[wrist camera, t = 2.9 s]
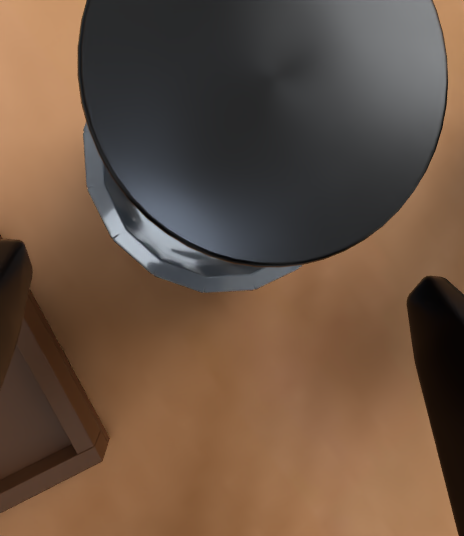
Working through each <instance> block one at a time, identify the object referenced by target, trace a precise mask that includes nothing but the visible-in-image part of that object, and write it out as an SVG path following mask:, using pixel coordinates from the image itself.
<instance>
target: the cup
mask: <svg viewBox="0 0 464 536" xmlns="http://www.w3.org/2000/svg"><path fill="white" fill-rule="evenodd" d="M83 131H84V133H83V141H84V156H85V171H86V186H87V188H88V189H87V190H88V192H89V194H90V196H91V198H92V200H93V202H94V204H95V206H96V208H97V210H98V212H99V214H100V217H101V219H102V221H103V223H104V225H105V227H106V229H107V231H108V233H109V235H110V237H111V238H112V239H113V241H114V242H116V243H117V244H118V245H119V246H120V247H121V248H122V249H123V250H125V251H126V252H127V253H128V254H129V255H130V256H131V257H133V258H134V259H135V260H136V261H137V262H138V263H139V264H140V265H142V266H143V267H144V268H145V269H146V270H147V271H148V272H150V273H151V274H152V275H154V276H155V277H158V278H161V279H164V280H167V281H170V282H173V283H175V284H178V285H181V286H184V287H187V288H190V289H193V290H196V291H198V292H201V293H203V292H204V293H214V292H231V291H249V290H254V289H258V288H260V287H262V286H264V285H266V284H268V283H270V282H272V281H275V280H277V279H279V278H281V277H283V276H285V275H287V274H289V273H291V272H293V271H295V270H297V269H299V268H300V267H301V266H302V265H297V266H289V267H280V268H278V267H252V266H246V265H239V264H233V263H230V262H226V261H223V260H219V259H216V258H212V257H209V256H207V255H205V254H203V253H200V252H198V251H196V250H193V249H191V248H189V247H187V246H185V245H184V244H182V243H180V242H179V241H177V240H175V239H174V238H172V237H170V236H169V235H167V234H166V233H164V232H163V231H162V230H161V229H159V228H158V227H157V226H156V225H154V224H153V223H152V222H151V221H149V220H148V219H147V218H146V217H145V216H144V215H143V214H142V213H141V212H140V211H139V210H138V209H137V208H136V207H135V206H134V205H133V204H132V203H131V202H130V201H129V200H128V199H127V197H126V196H125V195H124V193H123V192H122V191H121V189H120V188H119V187H118V185H117V184H116V183H115V181H114V180H113V179H112V177H111V175H110V173H109V172H108V170H107V168H106V166H105V165H104V163H103V161H102V159H101V158H100V156H99V154H98V151H97V149H96V147H95V144H94V142H93V139H92V137H91V134H90V132H89V130H88V126H87V122H86V124H85V127H84V129H83Z"/></svg>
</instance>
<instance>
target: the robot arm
mask: <svg viewBox="0 0 464 536" xmlns="http://www.w3.org/2000/svg"><path fill="white" fill-rule="evenodd" d="M32 273H33V272H32V265H31V262H30V259H29V256H28V253H27V250H26V247H25V244H24V243H23V242H22V241H20V240H10V239H0V391H1V388H2V385H3V382H4V379H5V377H6V374H7V371H8V368H9V365H10V363H11V360H12V357H13V354H14V351H15V348H16V345H17V342H18V338H19V334H20V330H21V325H22V321H23V316H24V312H25V307H26V303H27V298H28V293H29V289H30V284H31V280H32ZM407 311H408V318H409V325H410V332H411V339H412V347H413V353H414V359H415V364H416V369H417V373H418V377H419V381H420V385H421V389H422V393H423V396H424V400H425V404H426V408H427V412H428V416H429V420H430V424H431V428H432V432H433V436H434V440H435V444H436V448H437V452H438V456H439V460H440V464H441V468H442V472H443V476H444V480H445V484H446V487H447V491H448V495H449V499H450V503H451V507H452V511H453V515H454V519H455V523H456V527H457V531H458V535H459V536H464V294H463V293H461V292H460V291H459V290H458V289H457V288H456V287H455V286H454V285H453V284H451V283H450V282H449V281H448V280H447V279H446V278H443V277H438V276H426V277H424V278H423V279H422V280H421V281H420V283H419V284H418V285H417V286H416V287H415V288H414V290H413V291H412V292H411V293H410V294H409V296H408V298H407Z"/></svg>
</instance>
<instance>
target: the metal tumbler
mask: <svg viewBox="0 0 464 536" xmlns="http://www.w3.org/2000/svg"><path fill="white" fill-rule="evenodd" d="M78 82H79V89H80V97H81V103H82V107H83V111H84V115H85V118H86V122H87V126H88V130H89V132H90V134H91V137H92V139H93V142H94V144H95V147H96V149H97V151H98V154H99V156H100V158H101V159H102V161H103V163H104V165H105V166H106V168H107V170H108V172H109V173H110V175H111V177H112V179H113V180H114V181H115V183H116V184H117V185H118V187H119V188H120V189H121V191H122V192H123V193H124V195H125V196H126V197H127V199H128V200H129V201H130V202H131V203H132V204H133V205H134V206H135V207H136V208H137V209H138V210H139V211H140V212H141V213H142V214H143V215H144V216H145V217H146V218H147V219H148V220H149V221H151V222H152V223H153V224H154V225H156V226H157V227H158V228H159V229H161V230H162V231H163V232H164V233H166V234H167V235H169V236H170V237H172V238H174V239H175V240H177V241H179V242H180V243H182V244H184V245H185V246H187V247H189V248H191V249H193V250H196V251H198V252H200V253H203V254H205V255H207V256H209V257H212V258H216V259H219V260H223V261H226V262H230V263H233V264H239V265H246V266H252V267H278V268H280V267H289V266H297V265H304V264H308V263H312V262H316V261H320V260H324V259H326V258H329V257H331V256H334V255H336V254H339V253H341V252H344V251H346V250H348V249H349V248H351V247H353V246H355V245H356V244H358V243H360V242H362V241H364V240H365V239H366V238H368V237H369V236H370V235H372V234H373V233H374V232H376V231H377V230H378V229H380V228H381V227H382V226H383V225H384V224H385V223H387V222H388V221H389V220H390V219H391V218H392V217H393V216H394V215H395V214H396V213H397V212H398V211H399V210H400V208H401V207H402V206H403V205H404V203H405V202H406V201H407V199H408V198H409V197H410V196H411V194H412V193H413V192H414V190H415V189H416V187H417V185H418V184H419V182H420V180H421V179H422V177H423V175H424V174H425V172H426V170H427V168H428V166H429V163H430V161H431V159H432V157H433V154H434V152H435V150H436V146H437V143H438V140H439V137H440V134H441V130H442V126H443V121H444V116H445V110H446V104H447V90H448V70H447V55H446V49H445V42H444V36H443V32H442V28H441V24H440V21H439V17H438V14H437V10H436V8H435V5H434V3H433V0H87V1H86V5H85V9H84V12H83V16H82V20H81V26H80V34H79V41H78Z"/></svg>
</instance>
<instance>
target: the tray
mask: <svg viewBox="0 0 464 536" xmlns="http://www.w3.org/2000/svg"><path fill="white" fill-rule="evenodd" d="M0 239H2V237H1V235H0ZM108 442H109V436H108V434H107V432H106V431H105V429H104V427H103V425H102V423H101V421H100V419H99V418H98V416H97V414H96V412H95V410H94V408H93V406H92V405H91V403H90V401H89V399H88V397H87V395H86V393H85V392H84V390H83V388H82V386H81V384H80V382H79V380H78V378H77V377H76V375H75V373H74V371H73V369H72V367H71V365H70V364H69V362H68V360H67V358H66V356H65V354H64V352H63V351H62V349H61V347H60V345H59V343H58V341H57V339H56V338H55V336H54V334H53V332H52V330H51V328H50V326H49V325H48V323H47V321H46V319H45V317H44V315H43V313H42V312H41V310H40V308H39V306H38V304H37V302H36V300H35V299H34V297H33V295H32V293H31V291H30V289H29V293H28V298H27V303H26V307H25V312H24V316H23V321H22V325H21V330H20V334H19V338H18V342H17V345H16V348H15V351H14V354H13V357H12V360H11V363H10V365H9V368H8V371H7V374H6V377H5V379H4V382H3V385H2V388H1V391H0V513H2V512H4V511H6V510H7V509H9V508H11V507H13V506H15V505H17V504H19V503H21V502H23V501H25V500H27V499H29V498H31V497H33V496H35V495H37V494H39V493H41V492H43V491H45V490H47V489H49V488H51V487H53V486H55V485H57V484H59V483H61V482H63V481H65V480H67V479H69V478H70V477H72V476H74V475H76V474H78V473H80V472H82V471H84V470H86V469H88V468H90V467H92V466H94V465H96V464H98V463H100V462H102V461H103V458H104V455H105V451H106V448H107V445H108Z"/></svg>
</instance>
